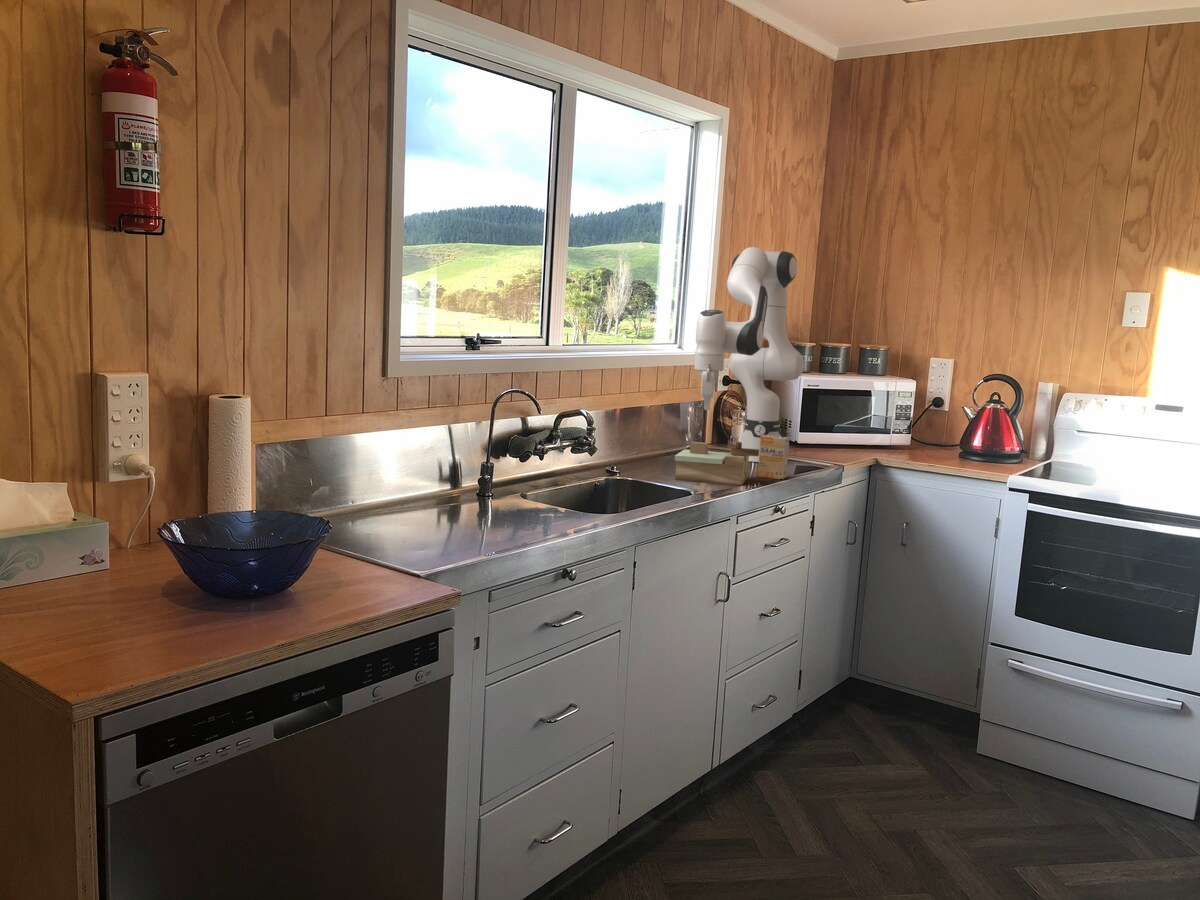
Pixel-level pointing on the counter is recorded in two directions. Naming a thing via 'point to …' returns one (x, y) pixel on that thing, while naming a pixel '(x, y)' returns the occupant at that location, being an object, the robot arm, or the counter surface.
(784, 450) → the supplement box
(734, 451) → the brown stepped wooden block
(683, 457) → the lid
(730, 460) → the toolbox
